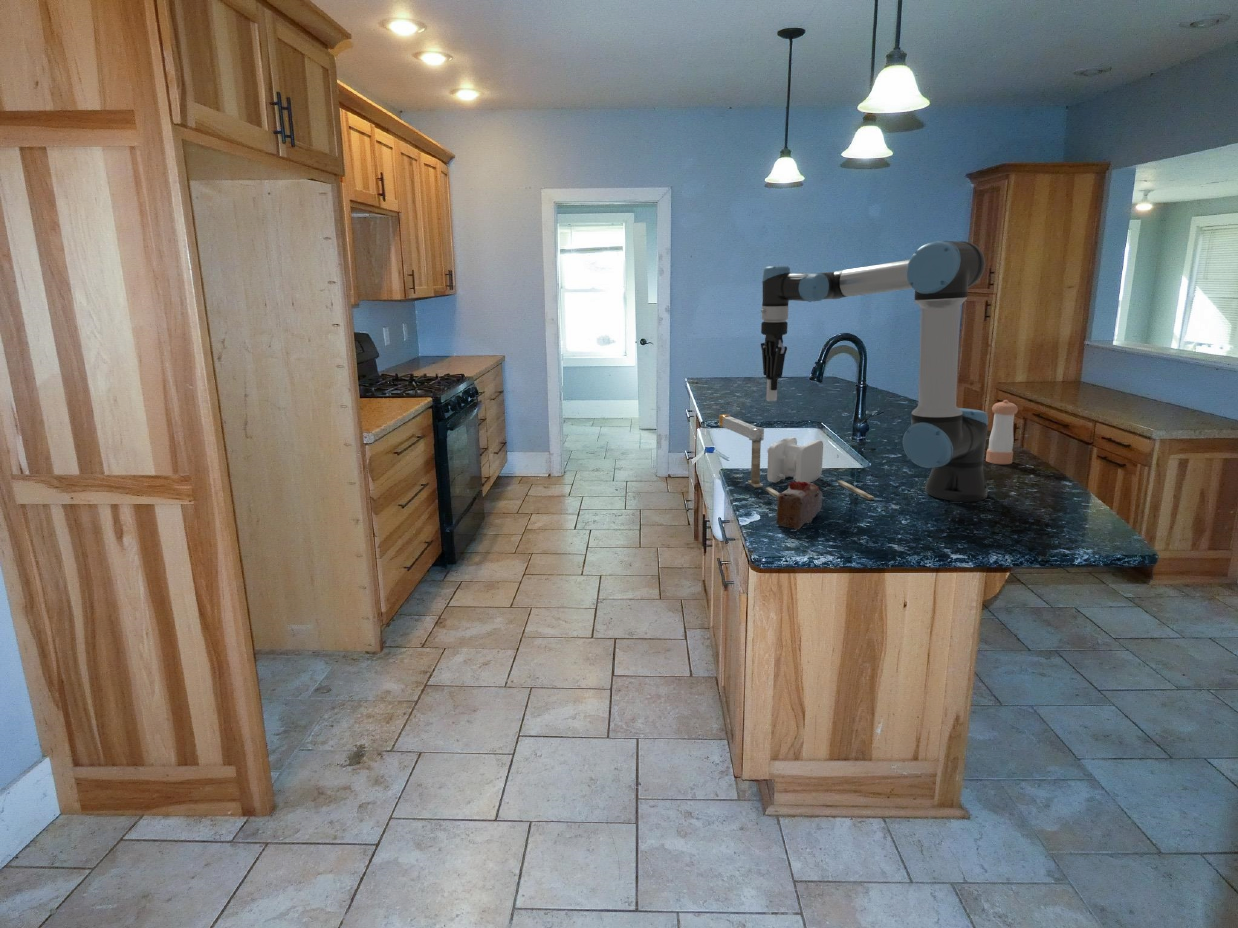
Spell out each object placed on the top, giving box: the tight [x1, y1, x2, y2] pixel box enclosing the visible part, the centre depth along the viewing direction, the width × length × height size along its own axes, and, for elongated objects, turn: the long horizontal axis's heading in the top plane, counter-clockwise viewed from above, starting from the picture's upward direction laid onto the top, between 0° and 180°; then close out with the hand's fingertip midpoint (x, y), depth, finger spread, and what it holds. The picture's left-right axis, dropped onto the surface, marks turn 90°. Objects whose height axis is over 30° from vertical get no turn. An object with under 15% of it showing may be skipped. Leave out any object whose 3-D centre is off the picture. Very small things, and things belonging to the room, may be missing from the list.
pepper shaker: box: [985, 399, 1019, 465], centre depth 224 cm, size 7×7×19 cm
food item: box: [776, 480, 823, 530], centre depth 177 cm, size 14×8×10 cm, turn 148°
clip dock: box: [747, 440, 875, 501], centre depth 200 cm, size 24×25×13 cm
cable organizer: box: [766, 436, 824, 484], centre depth 209 cm, size 15×11×12 cm
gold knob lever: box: [718, 414, 765, 442], centre depth 213 cm, size 4×24×3 cm, turn 18°
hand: (771, 400), depth 220 cm, fingers closed
